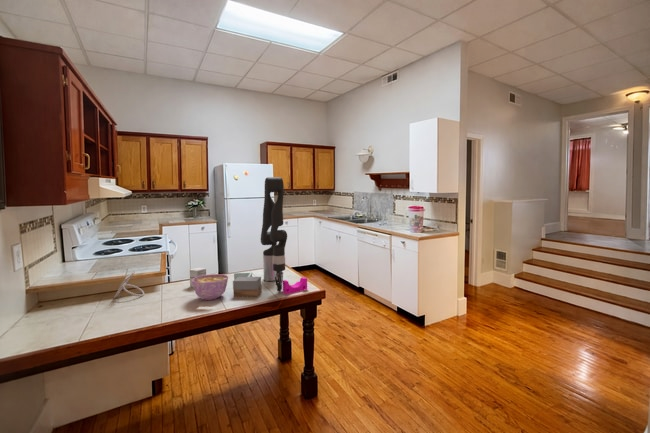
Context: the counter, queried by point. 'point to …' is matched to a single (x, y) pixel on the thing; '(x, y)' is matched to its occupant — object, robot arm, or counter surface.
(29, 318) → the counter surface
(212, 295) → the bowl of food
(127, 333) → the counter surface
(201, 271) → the supplement box
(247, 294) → the tower bottom
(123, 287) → the wire frame
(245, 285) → the tower top
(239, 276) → the right angle wall
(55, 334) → the counter surface
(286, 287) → the toy block
